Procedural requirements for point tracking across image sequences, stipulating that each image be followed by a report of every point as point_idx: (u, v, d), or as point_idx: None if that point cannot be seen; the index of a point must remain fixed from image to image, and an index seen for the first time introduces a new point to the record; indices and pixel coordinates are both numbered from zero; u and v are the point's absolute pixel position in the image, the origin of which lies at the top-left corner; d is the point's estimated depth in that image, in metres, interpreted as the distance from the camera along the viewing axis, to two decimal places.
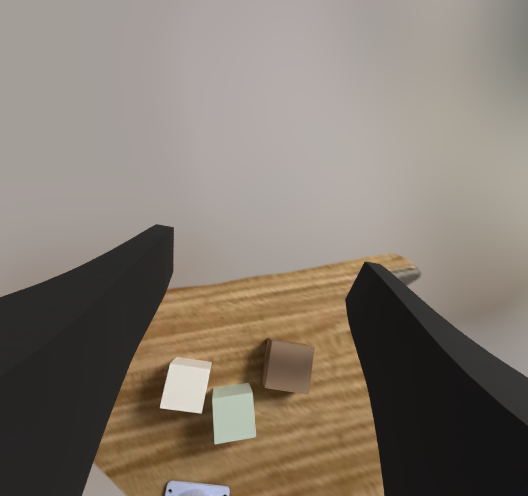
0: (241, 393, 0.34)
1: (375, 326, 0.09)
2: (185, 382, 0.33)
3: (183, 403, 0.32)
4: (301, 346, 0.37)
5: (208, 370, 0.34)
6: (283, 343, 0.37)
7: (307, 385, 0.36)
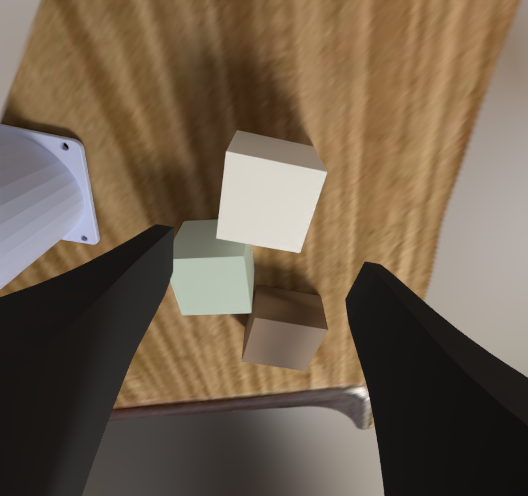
0: (249, 295, 0.18)
1: (375, 326, 0.09)
2: (278, 208, 0.14)
3: (235, 204, 0.14)
4: (310, 359, 0.24)
5: (298, 249, 0.16)
6: (319, 341, 0.22)
7: (253, 361, 0.24)
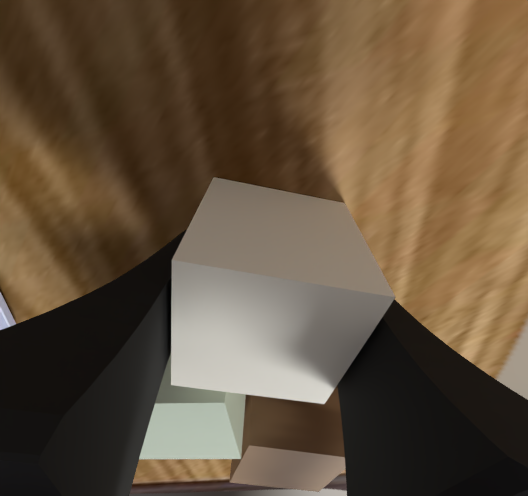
0: (237, 437, 0.11)
1: None
2: (287, 349, 0.07)
3: (202, 343, 0.07)
4: (326, 482, 0.17)
5: (321, 400, 0.09)
6: (342, 468, 0.15)
7: (247, 482, 0.17)
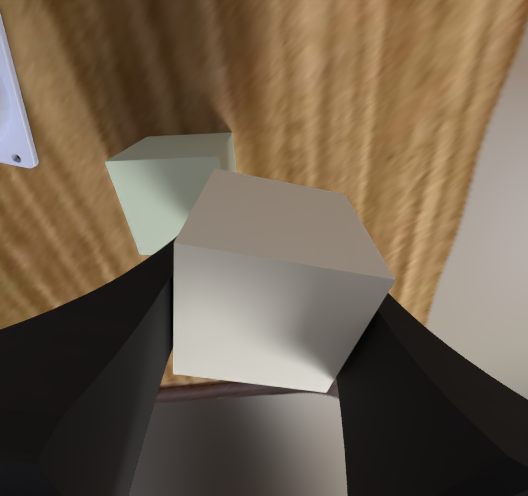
0: None
1: None
2: (288, 334, 0.07)
3: (204, 329, 0.07)
4: None
5: (323, 388, 0.09)
6: None
7: None
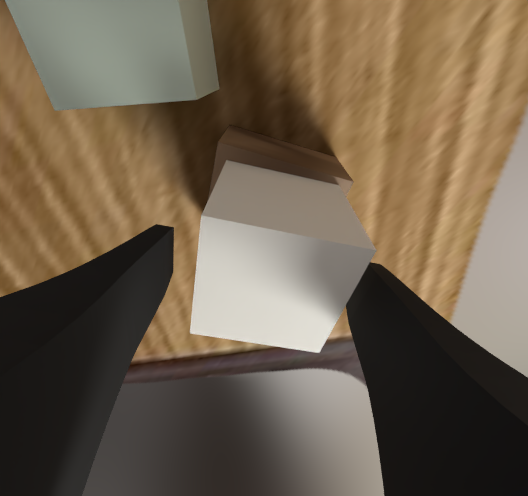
0: (189, 47, 0.09)
1: (375, 326, 0.09)
2: (289, 297, 0.09)
3: (220, 291, 0.09)
4: None
5: (316, 349, 0.10)
6: None
7: None
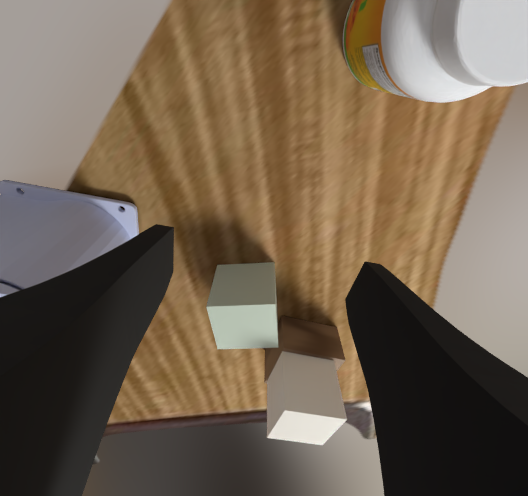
0: (277, 332, 0.21)
1: (375, 326, 0.09)
2: (312, 429, 0.22)
3: (284, 427, 0.22)
4: None
5: (321, 444, 0.23)
6: (336, 369, 0.26)
7: None
